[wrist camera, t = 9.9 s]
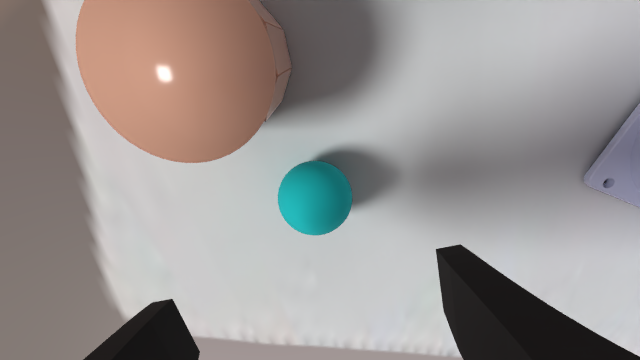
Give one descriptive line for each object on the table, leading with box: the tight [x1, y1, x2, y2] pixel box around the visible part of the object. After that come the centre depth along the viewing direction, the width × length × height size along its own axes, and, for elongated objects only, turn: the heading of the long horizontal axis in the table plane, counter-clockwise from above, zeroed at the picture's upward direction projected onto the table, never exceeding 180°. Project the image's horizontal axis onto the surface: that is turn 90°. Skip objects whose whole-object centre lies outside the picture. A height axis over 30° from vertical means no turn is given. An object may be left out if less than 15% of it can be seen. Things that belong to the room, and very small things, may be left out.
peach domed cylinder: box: [76, 0, 292, 163], centre depth 12 cm, size 6×6×5 cm
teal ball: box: [278, 161, 352, 235], centre depth 15 cm, size 3×3×3 cm
